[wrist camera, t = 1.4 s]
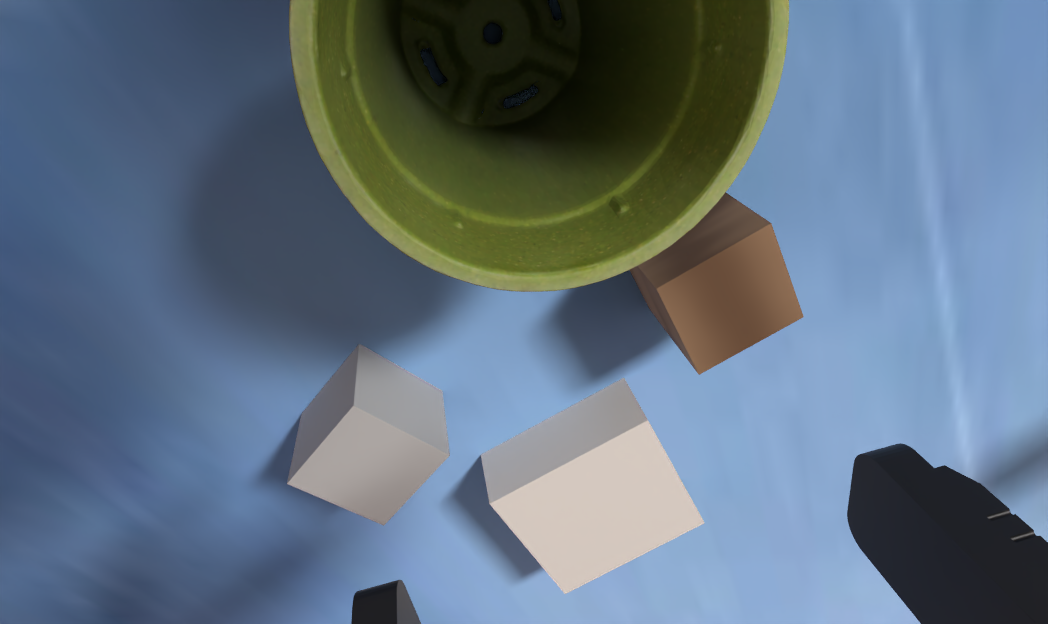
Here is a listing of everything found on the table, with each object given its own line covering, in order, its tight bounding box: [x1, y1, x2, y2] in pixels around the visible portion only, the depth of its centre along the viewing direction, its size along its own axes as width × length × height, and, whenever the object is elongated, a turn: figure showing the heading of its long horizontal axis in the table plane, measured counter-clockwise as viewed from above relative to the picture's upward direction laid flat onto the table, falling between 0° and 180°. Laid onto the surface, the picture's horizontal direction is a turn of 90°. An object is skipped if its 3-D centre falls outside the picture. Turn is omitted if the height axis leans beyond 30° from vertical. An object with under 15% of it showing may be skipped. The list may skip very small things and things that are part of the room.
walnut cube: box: [630, 192, 803, 374], centre depth 28 cm, size 5×5×6 cm
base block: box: [481, 378, 704, 594], centre depth 35 cm, size 9×9×4 cm
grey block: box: [287, 344, 450, 525], centre depth 30 cm, size 5×5×5 cm
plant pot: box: [289, 0, 789, 292], centre depth 19 cm, size 12×12×11 cm
